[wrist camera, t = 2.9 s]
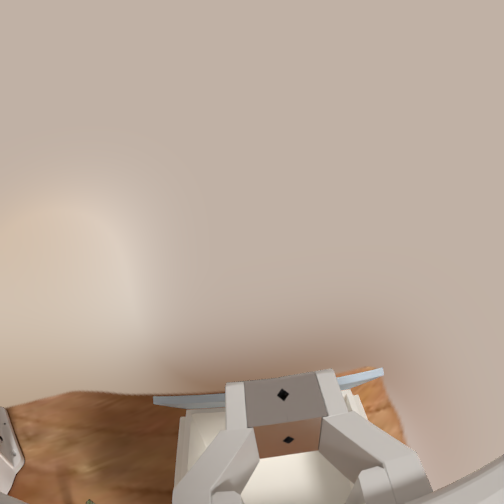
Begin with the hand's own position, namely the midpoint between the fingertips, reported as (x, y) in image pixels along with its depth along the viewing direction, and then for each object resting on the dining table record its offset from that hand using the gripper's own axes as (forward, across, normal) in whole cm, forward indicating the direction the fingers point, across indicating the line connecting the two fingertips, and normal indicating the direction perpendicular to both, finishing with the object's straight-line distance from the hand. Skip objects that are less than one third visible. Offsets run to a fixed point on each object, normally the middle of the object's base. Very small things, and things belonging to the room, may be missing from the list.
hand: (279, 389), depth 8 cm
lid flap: (+12, 0, +16) cm, 20 cm away
